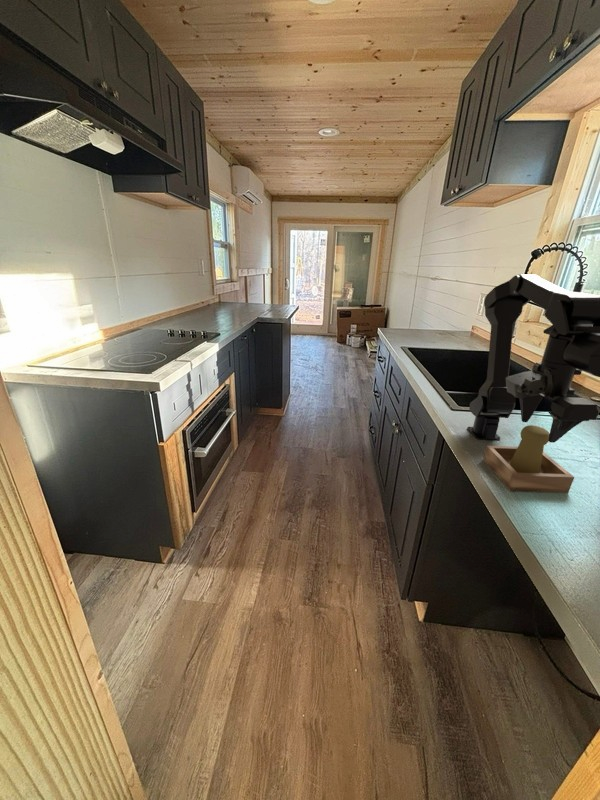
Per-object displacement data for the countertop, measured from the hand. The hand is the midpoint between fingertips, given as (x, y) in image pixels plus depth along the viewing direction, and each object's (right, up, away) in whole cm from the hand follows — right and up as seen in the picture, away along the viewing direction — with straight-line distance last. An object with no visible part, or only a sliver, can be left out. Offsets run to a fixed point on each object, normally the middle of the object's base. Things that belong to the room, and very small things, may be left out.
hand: (537, 431), depth 70 cm
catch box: (0, -10, +5) cm, 11 cm away
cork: (0, -10, +4) cm, 11 cm away
